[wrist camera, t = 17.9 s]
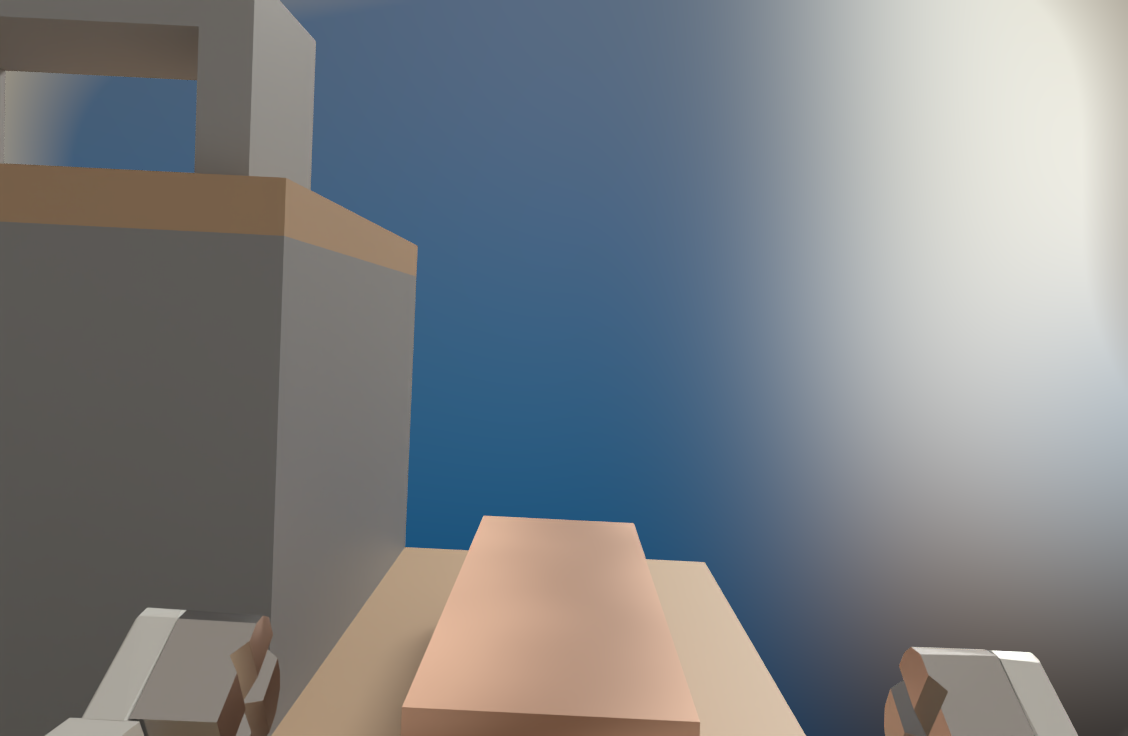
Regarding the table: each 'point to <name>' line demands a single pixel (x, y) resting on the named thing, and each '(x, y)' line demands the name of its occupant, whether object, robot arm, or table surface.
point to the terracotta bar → (551, 640)
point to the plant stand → (231, 399)
